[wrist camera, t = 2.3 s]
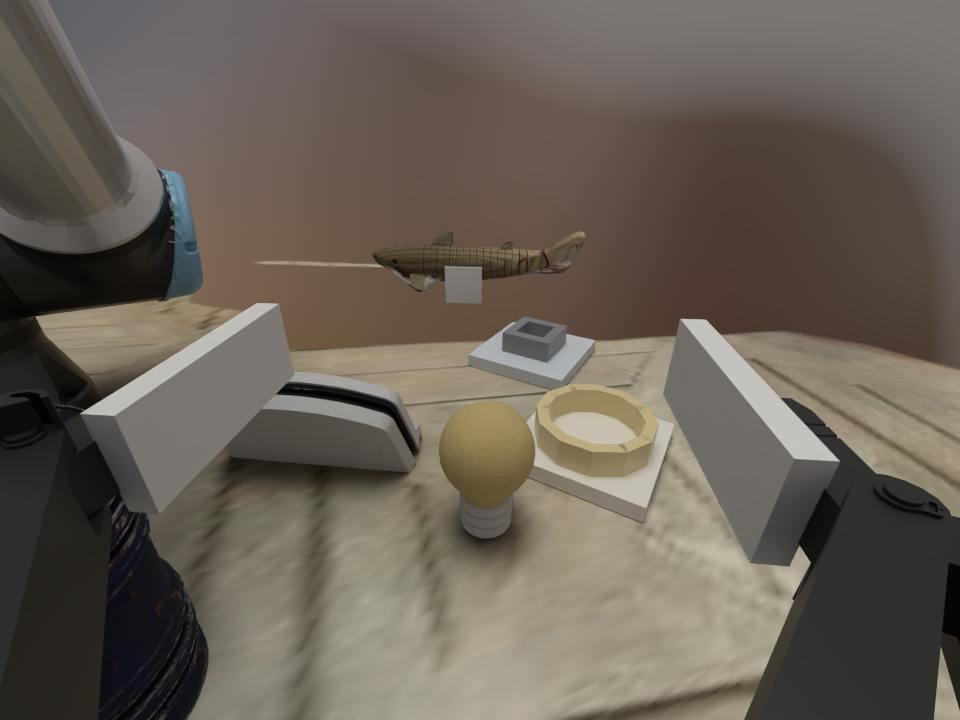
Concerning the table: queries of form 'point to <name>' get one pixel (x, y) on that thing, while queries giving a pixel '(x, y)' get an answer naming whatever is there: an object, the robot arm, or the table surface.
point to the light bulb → (486, 463)
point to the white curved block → (331, 426)
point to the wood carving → (472, 264)
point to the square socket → (534, 353)
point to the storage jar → (146, 626)
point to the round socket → (599, 447)
